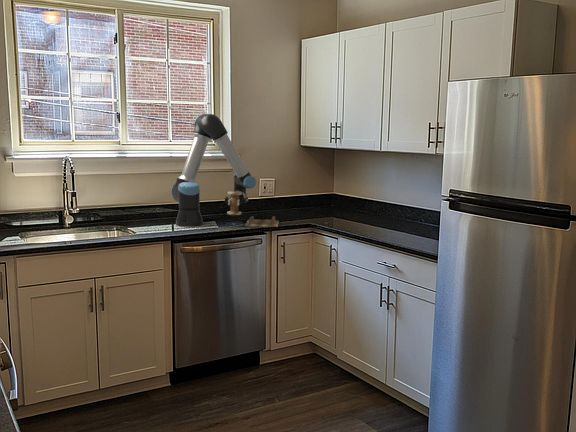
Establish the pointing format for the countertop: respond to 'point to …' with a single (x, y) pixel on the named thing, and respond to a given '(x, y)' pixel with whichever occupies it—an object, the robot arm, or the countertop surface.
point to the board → (262, 222)
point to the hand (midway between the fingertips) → (233, 202)
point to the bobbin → (234, 203)
